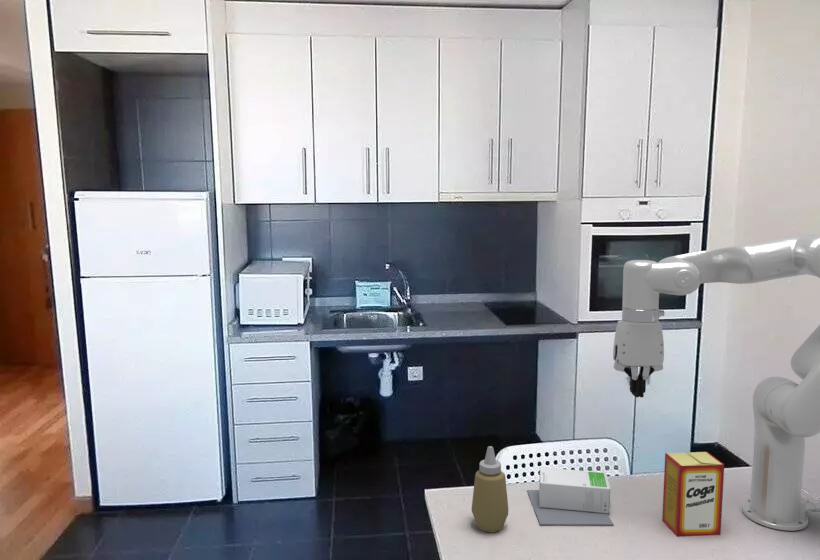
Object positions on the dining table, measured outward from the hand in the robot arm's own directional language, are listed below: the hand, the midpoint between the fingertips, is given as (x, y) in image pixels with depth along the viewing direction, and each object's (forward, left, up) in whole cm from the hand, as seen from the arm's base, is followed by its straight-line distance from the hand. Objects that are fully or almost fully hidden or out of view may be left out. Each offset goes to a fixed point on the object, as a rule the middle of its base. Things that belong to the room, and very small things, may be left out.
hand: (637, 395), depth 135 cm
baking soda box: (-9, +9, -27) cm, 30 cm away
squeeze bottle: (+34, +8, -27) cm, 44 cm away
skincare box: (+6, 0, -23) cm, 24 cm away
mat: (+15, 0, -27) cm, 31 cm away
